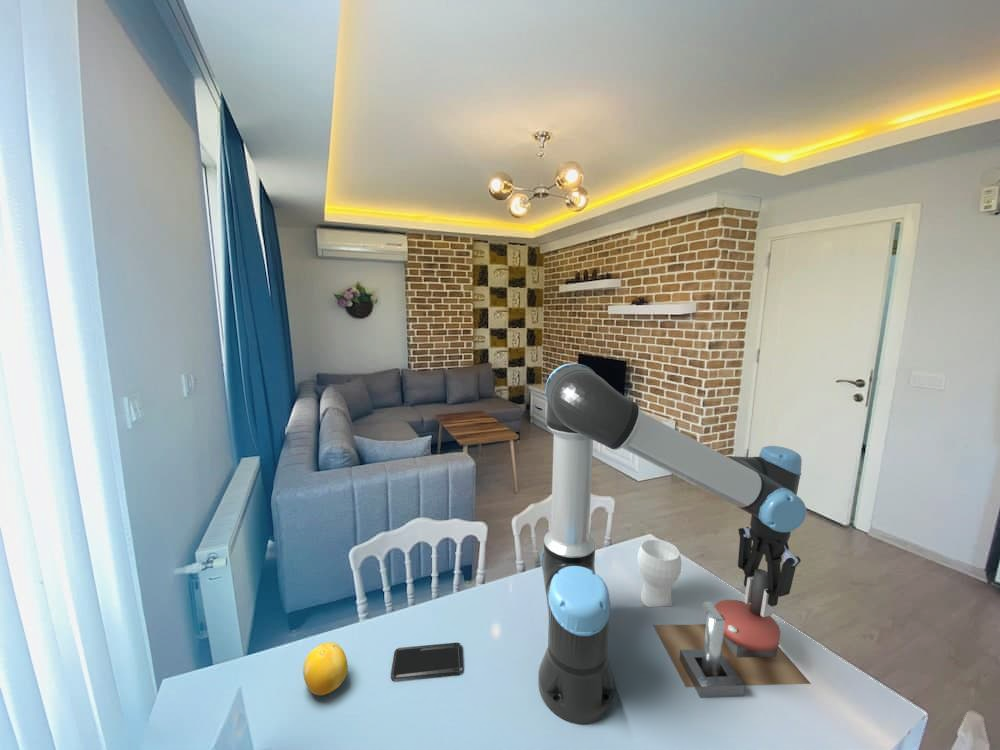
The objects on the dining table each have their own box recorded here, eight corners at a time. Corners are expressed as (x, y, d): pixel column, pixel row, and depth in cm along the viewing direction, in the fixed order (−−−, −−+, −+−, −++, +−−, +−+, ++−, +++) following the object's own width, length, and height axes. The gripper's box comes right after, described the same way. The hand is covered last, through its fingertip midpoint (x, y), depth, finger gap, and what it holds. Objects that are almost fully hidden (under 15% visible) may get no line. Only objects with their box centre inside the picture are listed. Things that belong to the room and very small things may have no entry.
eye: (700, 697, 79) (701, 686, 79) (679, 659, 88) (680, 649, 87) (742, 696, 79) (744, 685, 79) (718, 658, 88) (719, 648, 88)
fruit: (357, 679, 84) (355, 645, 83) (323, 712, 77) (320, 676, 76) (329, 660, 89) (327, 628, 87) (295, 690, 82) (292, 655, 80)
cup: (670, 588, 112) (674, 539, 110) (683, 617, 102) (688, 563, 99) (631, 585, 113) (634, 536, 111) (640, 613, 103) (644, 560, 100)
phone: (462, 671, 85) (389, 678, 83) (462, 676, 85) (390, 683, 84) (461, 641, 93) (395, 647, 91) (461, 646, 93) (395, 651, 91)
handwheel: (701, 620, 94) (706, 573, 93) (732, 599, 101) (737, 556, 99) (760, 661, 84) (767, 609, 82) (790, 635, 90) (797, 587, 88)
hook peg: (706, 684, 82) (713, 620, 80) (693, 663, 87) (699, 602, 84) (721, 684, 82) (728, 619, 80) (708, 662, 87) (714, 601, 85)
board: (685, 693, 82) (687, 674, 81) (652, 630, 97) (654, 614, 97) (809, 689, 83) (812, 670, 82) (757, 628, 98) (759, 612, 98)
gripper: (727, 500, 97) (716, 587, 101) (796, 539, 81) (780, 640, 85) (751, 496, 99) (739, 581, 103) (823, 533, 83) (805, 632, 88)
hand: (757, 608), depth 94 cm, fingers open, 4 cm apart
